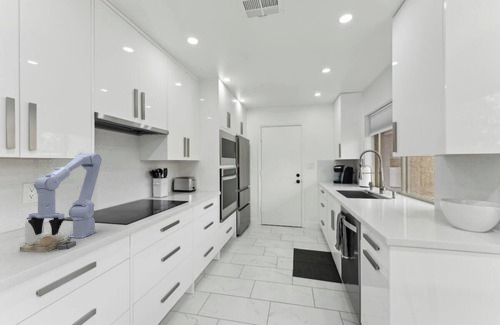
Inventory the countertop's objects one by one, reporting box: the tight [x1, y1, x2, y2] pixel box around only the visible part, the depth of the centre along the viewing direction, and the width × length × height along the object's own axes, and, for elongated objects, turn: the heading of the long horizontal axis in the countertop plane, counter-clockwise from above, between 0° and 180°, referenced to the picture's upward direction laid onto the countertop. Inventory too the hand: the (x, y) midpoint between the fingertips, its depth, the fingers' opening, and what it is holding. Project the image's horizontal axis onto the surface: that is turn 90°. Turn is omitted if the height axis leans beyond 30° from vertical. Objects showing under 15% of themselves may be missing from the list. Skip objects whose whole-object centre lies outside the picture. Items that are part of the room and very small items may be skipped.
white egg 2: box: [52, 231, 66, 242], centre depth 102 cm, size 4×4×4 cm
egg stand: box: [56, 240, 77, 250], centre depth 99 cm, size 5×5×2 cm
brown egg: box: [40, 236, 53, 246], centre depth 97 cm, size 4×4×4 cm
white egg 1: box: [40, 231, 53, 239], centre depth 103 cm, size 4×4×4 cm
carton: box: [19, 237, 72, 253], centre depth 100 cm, size 12×12×2 cm
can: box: [24, 216, 45, 245], centre depth 105 cm, size 6×6×12 cm
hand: (46, 234), depth 97 cm, fingers open, 7 cm apart
